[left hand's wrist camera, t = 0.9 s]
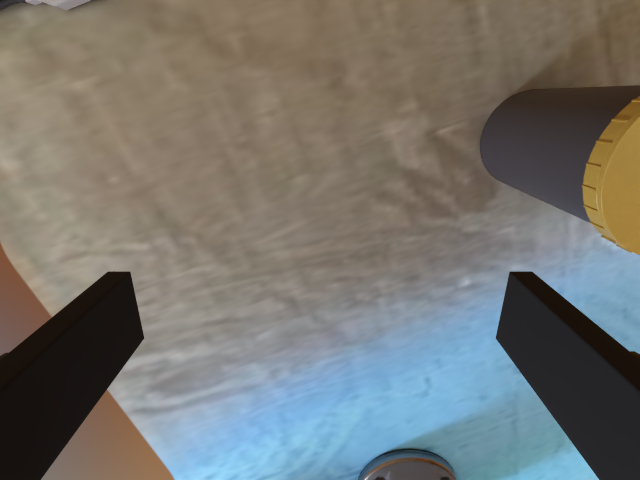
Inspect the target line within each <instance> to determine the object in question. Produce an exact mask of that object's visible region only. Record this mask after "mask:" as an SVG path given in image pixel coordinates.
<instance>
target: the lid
mask: <svg viewBox="0 0 640 480" xmlns="http://www.w3.org/2000/svg"><path fill="white" fill-rule="evenodd" d="M631 101H632V102H631V103H630V104H628V105H627V106H626V107H625V108H624V109H623V110H621V112H620V113H619V114H618V115H617V116H616V117H615V118H614V119H612V120H611V122H610V124H609V125H608V126H607V127H606V129H605V130H604V131H603V133H602V134H601V136H600V137H599V139H598V141H596V144H595V146H594V148H593V150H592V152H591V154H590V157H589V160H588V162H587V163H586V169H585V174H584V179H583V185H582V187H583V201H584V205H583V207H585V210H586V212H587V215H588V217H589V219H590V221H591V222H590V224H592V225H593V226H594V227H595V228H596V229H597V231H598V232H599V233H600V234H601V235H602V237H603V238H605V239H607V240H609V241H611V242H613V243H615V244H617V245H616V246H618V247H620V248H622V249H624V250H626V251H628V252H633V253H636V254H639V255H640V96H639V97H637V98H636V99H633V100H631Z"/></svg>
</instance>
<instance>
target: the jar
mask: <svg viewBox="0 0 640 480" xmlns="http://www.w3.org/2000/svg"><path fill="white" fill-rule="evenodd" d="M639 96H640V85H636V86H611V87H586V88H561V89H536V90H527V91H523V92H520V93H518V94H516V95H513V96H512V97H510V98H508V99H507V100H505V101H504V102H503V103H501V104H500V105H499V106H498V107H497V108H496V109H495V111H494V112H493V113H492V114H491V116H490V117H489V119H488V121H487V123H486V124H485V127H484V129H483V132H482V136H481V142H480V152H481V157H482V161H483V163H484V166H485V167H486V169H487V170H488V172H489V173H490V174H491V175H492V176H493V177H494V178H496V179H497V180H499V181H501V182H503V183H505V184H507V185H509V186H512V187H514V188H516V189H518V190H520V191H522V192H525V193H527V194H529V195H531V196H533V197H535V198H538V199H540V200H542V201H544V202H546V203H548V204H550V205H553V206H555V207H557V208H559V209H561V210H563V211H566V212H568V213H570V214H572V215H574V216H576V217H579V218H581V219H583V220H585V221H587V222H589V223H590V222H591V221H590V219H589V217H588V215H587V212H586V210H585V207H583V205H584V201H583V187H582V185H583V179H584V174H585V169H586V163H587V162H588V160H589V157H590V154H591V152H592V150H593V148H594V146H595V144H596V141H598V139H599V137H600V136H601V134H602V133H603V131H604V130H605V129H606V127H607V126H608V125H609V124H610V122H611V120H612V119H614V118H615V117H616V116H617V115H618V114H619V113H620V112H621V110H623V109H624V108H625V107H626V106H627V105H628V104H630V103H631V102H632V101H631V100H633V99H636V98H637V97H639Z"/></svg>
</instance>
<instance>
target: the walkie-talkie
mask: <svg viewBox="0 0 640 480" xmlns="http://www.w3.org/2000/svg"><path fill="white" fill-rule="evenodd" d="M88 1H91V0H0V10H1V9H3V8H6V7H8V6H10V5H13V4H15V3H19V2H23V3H31V4H34V5H37V4H40V3H42V2H44V3H47V4H50V5H52V6H55V7H58V8H61V9H64V10H69V9H71V8H73V7H76V6H78V5H81V4H83V3H86V2H88Z"/></svg>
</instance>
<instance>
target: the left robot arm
mask: <svg viewBox="0 0 640 480" xmlns="http://www.w3.org/2000/svg"><path fill="white" fill-rule="evenodd" d="M143 339H144V335H143V330H142V326H141V321H140V316H139V311H138V306H137V302H136V297H135V292H134V287H133V283H132V278H131V273H130V272H107V273H106V274H105V275H103V276H102V277H101V278H100V279H99V280H97V281H96V282H95V283H94V284H92V285H91V286H90V287H89V288H88V289H86V290H85V291H84V292H83V293H81V294H80V295H79V296H78V297H77V298H75V299H74V300H73V301H72V302H70V303H69V304H68V305H67V306H66V307H64V308H63V309H62V310H61V311H60V312H58V313H57V314H56V315H55V316H53V317H52V318H51V319H50V320H49V321H47V322H46V323H45V324H44V325H42V326H41V327H40V328H39V329H38V330H36V331H35V332H34V333H33V334H31V335H30V336H29V337H28V338H27V339H25V340H24V341H23V342H22V343H20V344H19V345H18V346H17V347H16V348H14V349H13V350H12V351H11V352H9V353H5V354H3V355H1V356H0V480H41V478H42V477H43V476H44V474H45V473H46V472H47V470H48V469H49V468H50V466H51V465H52V463H53V462H54V461H55V459H56V458H57V457H58V455H59V454H60V452H61V451H62V450H63V448H64V447H65V446H66V444H67V443H68V442H69V440H70V439H71V437H72V436H73V435H74V433H75V432H76V431H77V429H78V428H79V427H80V425H81V424H82V422H83V421H84V420H85V418H86V417H87V416H88V414H89V413H90V412H91V410H92V409H93V407H94V406H95V405H96V403H97V402H98V401H99V399H100V398H101V396H102V395H103V394H104V392H105V391H106V390H107V388H108V387H109V386H110V384H111V383H112V381H113V380H114V379H115V377H116V376H117V375H118V373H119V372H120V371H121V369H122V368H123V366H124V365H125V364H126V362H127V361H128V360H129V358H130V357H131V356H132V354H133V353H134V351H135V350H136V349H137V347H138V346H139V345H140V343H141V342H142V340H143ZM496 339H497V340H498V342H499V343H500V345H501V346H502V347H503V349H504V350H505V351H506V353H507V354H508V356H509V357H510V358H511V360H512V361H513V362H514V364H515V365H516V366H517V368H518V369H519V371H520V372H521V373H522V375H523V376H524V377H525V379H526V380H527V381H528V383H529V384H530V386H531V387H532V388H533V390H534V391H535V392H536V394H537V395H538V397H539V398H540V399H541V401H542V402H543V403H544V405H545V406H546V407H547V409H548V410H549V412H550V413H551V414H552V416H553V417H554V418H555V420H556V421H557V422H558V424H559V425H560V427H561V428H562V429H563V431H564V432H565V433H566V435H567V436H568V437H569V439H570V440H571V442H572V443H573V444H574V446H575V447H576V448H577V450H578V451H579V453H580V454H581V455H582V457H583V458H584V459H585V461H586V462H587V463H588V465H589V466H590V468H591V469H592V470H593V472H594V473H595V474H596V476H597V477H598V478H599V480H640V354H638V353H636V352H629V351H628V350H627V349H626V348H624V347H623V346H622V345H621V344H620V343H618V342H617V341H616V340H615V339H613V338H612V337H611V336H610V335H609V334H607V333H606V332H605V331H604V330H602V329H601V328H600V327H599V326H598V325H596V324H595V323H594V322H593V321H591V320H590V319H589V318H588V317H587V316H585V315H584V314H583V313H582V312H580V311H579V310H578V309H577V308H576V307H574V306H573V305H572V304H571V303H570V302H568V301H567V300H566V299H565V298H563V297H562V296H561V295H560V294H559V293H557V292H556V291H555V290H554V289H552V288H551V287H550V286H549V285H548V284H546V283H545V282H544V281H543V280H541V279H540V278H539V277H538V276H537V275H535V274H534V273H533V272H510V273H509V278H508V283H507V287H506V292H505V297H504V302H503V306H502V311H501V316H500V321H499V326H498V330H497V335H496ZM358 480H456V477H455V474H454V472H453V470H452V468H451V466H450V465H449V464H448V463H447V462H446V461H445V460H444V459H442V458H441V457H439V456H437V455H435V454H432V453H429V452H426V451H421V450H400V451H394V452H390V453H387V454H385V455H382V456H380V457H378V458H376V459H375V460H373V461H372V462H370V463H369V464H368V465H367V466H366V467H365V468H364V469H363V470H362V472H361V473H360V475H359V478H358Z"/></svg>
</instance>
